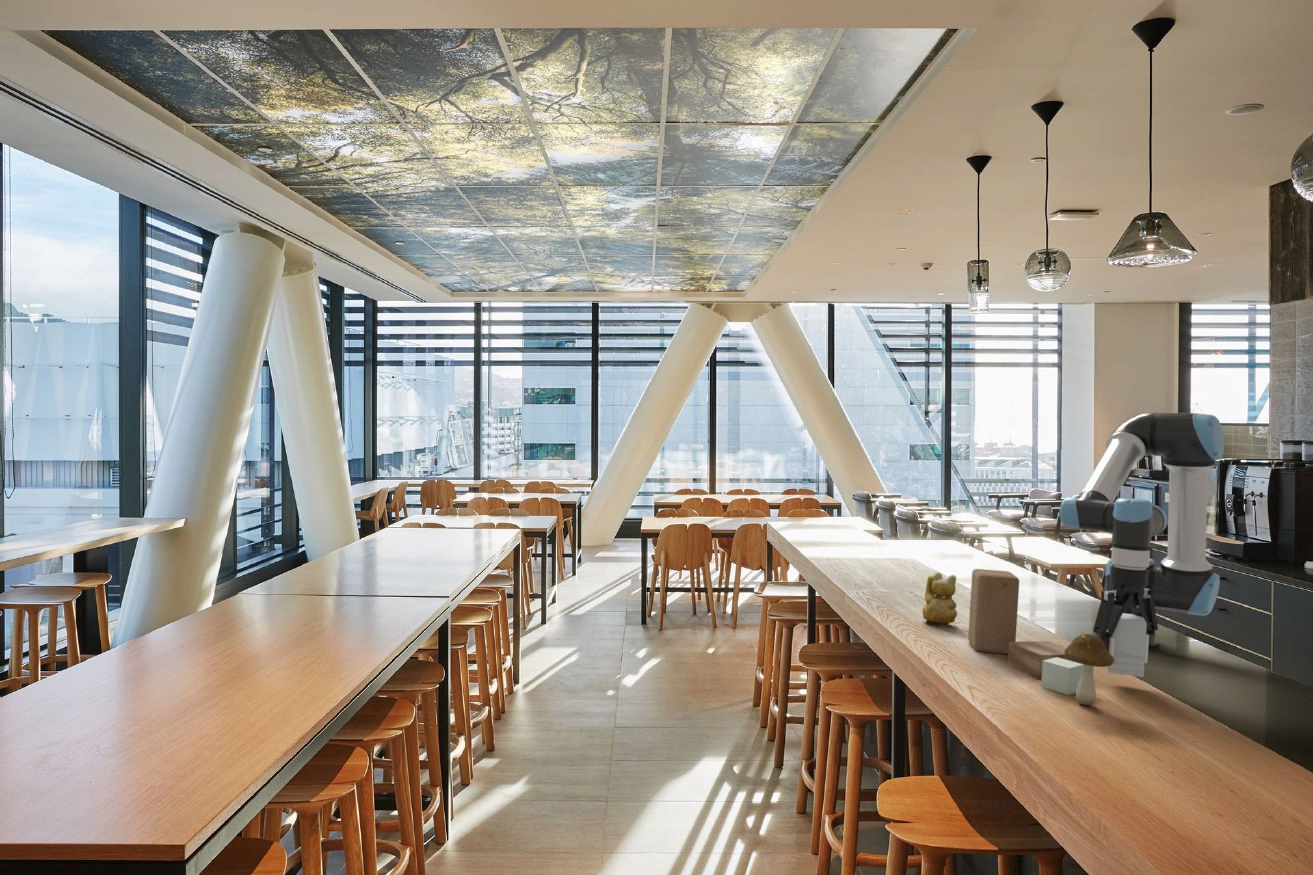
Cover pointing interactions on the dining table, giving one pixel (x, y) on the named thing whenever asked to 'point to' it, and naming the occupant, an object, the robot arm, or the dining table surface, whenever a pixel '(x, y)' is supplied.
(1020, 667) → the base block
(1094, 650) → the mushroom
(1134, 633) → the supplement box
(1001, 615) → the wooden block
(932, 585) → the decorative figurine
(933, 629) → the dining table surface
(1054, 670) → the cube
